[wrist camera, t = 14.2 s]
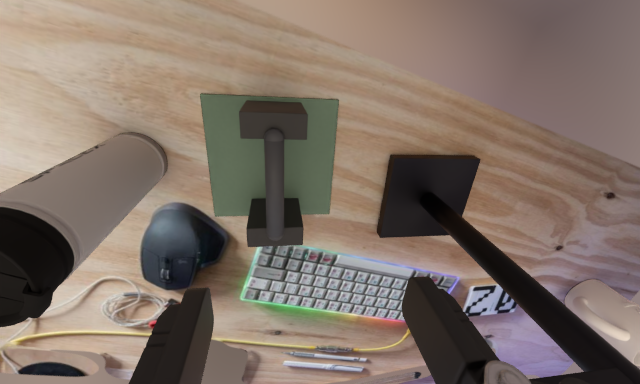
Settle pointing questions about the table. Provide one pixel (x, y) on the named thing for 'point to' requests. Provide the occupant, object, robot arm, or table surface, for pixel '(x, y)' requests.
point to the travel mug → (68, 218)
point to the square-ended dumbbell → (274, 171)
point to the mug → (608, 316)
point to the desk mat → (249, 159)
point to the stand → (490, 257)
